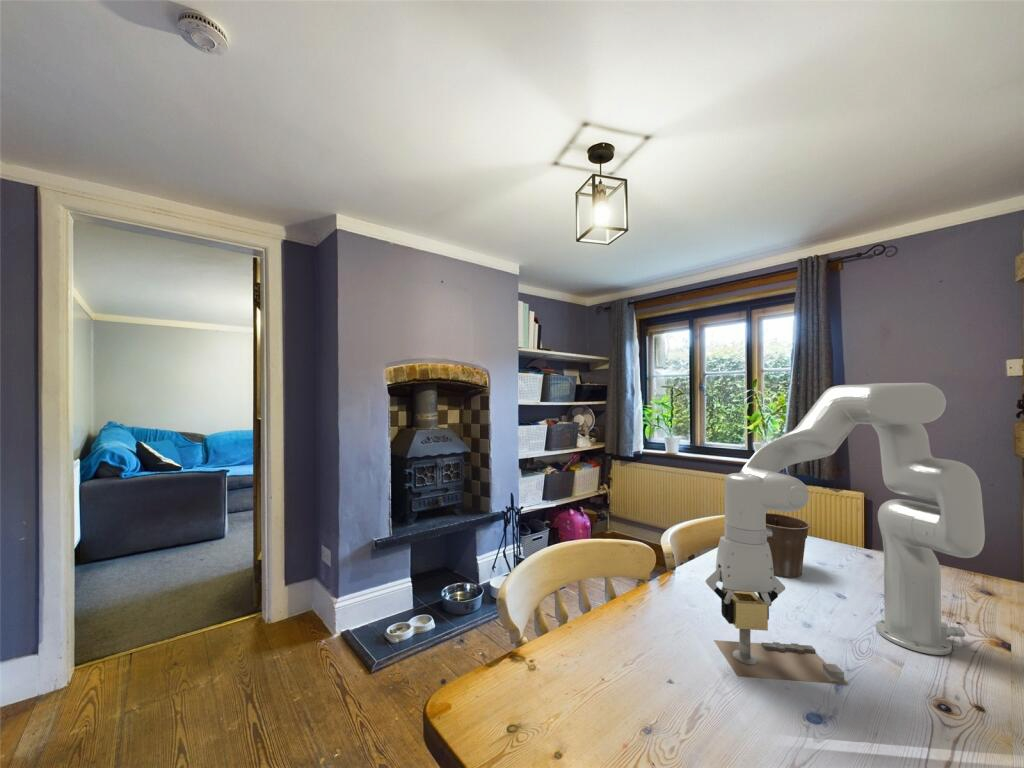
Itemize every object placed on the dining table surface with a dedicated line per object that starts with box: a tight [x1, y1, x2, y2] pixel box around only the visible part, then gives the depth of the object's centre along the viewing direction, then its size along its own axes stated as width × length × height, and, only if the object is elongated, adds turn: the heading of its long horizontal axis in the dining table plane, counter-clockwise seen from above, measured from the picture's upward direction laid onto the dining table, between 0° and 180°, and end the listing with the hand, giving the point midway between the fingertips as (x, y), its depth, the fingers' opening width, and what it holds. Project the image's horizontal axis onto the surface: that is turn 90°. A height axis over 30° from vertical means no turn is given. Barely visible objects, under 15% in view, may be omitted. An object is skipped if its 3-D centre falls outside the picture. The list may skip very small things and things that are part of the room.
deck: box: [713, 629, 848, 685], centre depth 86 cm, size 20×12×8 cm, turn 85°
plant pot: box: [766, 512, 811, 579], centre depth 135 cm, size 16×16×16 cm
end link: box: [731, 591, 769, 632], centre depth 87 cm, size 6×6×5 cm
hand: (744, 620), depth 87 cm, fingers closed on end link, 6 cm apart
